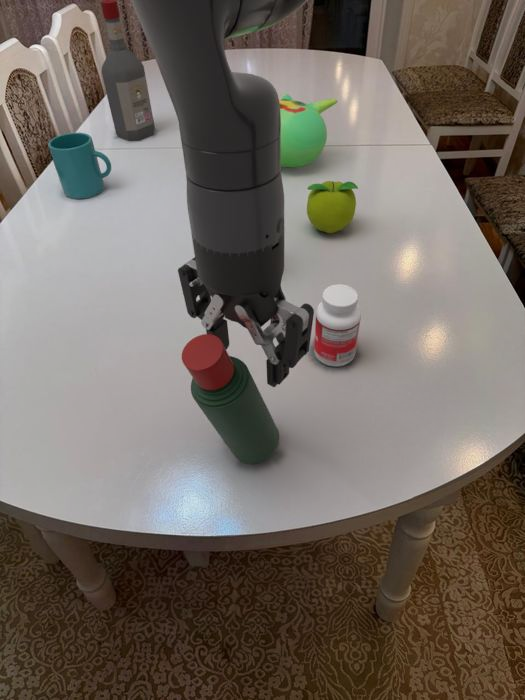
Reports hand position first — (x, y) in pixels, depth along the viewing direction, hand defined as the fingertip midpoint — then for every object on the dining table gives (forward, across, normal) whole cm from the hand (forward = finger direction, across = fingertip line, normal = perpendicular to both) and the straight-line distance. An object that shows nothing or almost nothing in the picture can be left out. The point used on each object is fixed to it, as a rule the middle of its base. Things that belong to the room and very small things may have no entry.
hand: (247, 365), depth 51 cm
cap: (-1, -2, -3) cm, 4 cm away
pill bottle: (+16, 0, +20) cm, 26 cm away
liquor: (+16, -88, +62) cm, 109 cm away
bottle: (+15, 0, +1) cm, 15 cm away
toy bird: (+16, -43, +70) cm, 83 cm away
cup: (+16, -72, +33) cm, 81 cm away
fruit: (+16, -19, +50) cm, 55 cm away
